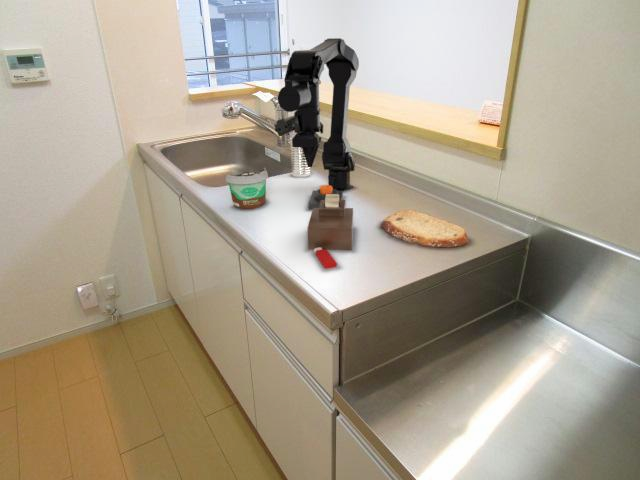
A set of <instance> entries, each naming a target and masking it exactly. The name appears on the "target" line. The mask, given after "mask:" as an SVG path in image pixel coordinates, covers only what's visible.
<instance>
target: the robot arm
mask: <svg viewBox="0 0 640 480" xmlns="http://www.w3.org/2000/svg"><path fill="white" fill-rule="evenodd" d="M325 66H326V68H327V69H328V77H329V79H330V81H331V83H332V86H333V87H332V88H333V89H332V103H331V117H330V118H331V120H330V133H329V138H328V139H327V140H326V141H325V142H324V143H323V150H322V153H321V161H322V165H323V166H322V167H323V170H324V171H328V176H327V178H328V179H327V185H330V186H332V189H336V190H337V191H343V192H345V191H348V190H351V189H354V185H352V184H351V172H354V171H355V167H356V160H355V158H354V156H353V154H352V152H351V149H352V147H351V144H350V143H349V140H348V138H347V129H348V118H349V117H348V115H349V101H350V89H351V86H352V84H353V83H354V81H355V80H356V78H357V73H358V70H359V66H360V61H359V57H358V55H357V53H356V51H355V50H354V49H353V48H351V47H350V46H349V45H348V44H346V41H345V39H343V38H341V37H340V38H339V37H338V38H336V37H334V38H331V37H330V38H326V39H324V40H323V42H321V43H319V44H317V45H315V46H314V47H312V48H309V49H300V50H294V51H293V52H292V53H291V56H290V57H289V60H288V63H287V68H286V72H285V76H284V79H283V81H284V86H282V88H280V90H279V91H278V95H277V103H278V104H279V106H280V108H281V109H282V110H283V111H285V112H288V113H289V112H293V111H295V112H294V116H291V117H288V116H287V117H286V118H284V117H281V119H277V120H276V122H275V123H274V131H275V132H276V133H277V135H278V137H283V136H284V135H286V134H290V132H291V131H294V130H295V133H296V135H295V136H294V137H293V139H292V147H301V148H302V149H303V152H304V155H305V159H306V162H307V166H308V167H311V168H312V167H313V165H314V162H315V159H316V156H317V153H318V150H319V146H320V144H321V141H322V137H321V136H320V135H319V134H318V133H320V134H324V124H323V122H321V121H320V119H321V117H320V113H321V107H320V85H322V81H321V80H320V78H321V76H322V73H323V72H324V70H325Z"/></svg>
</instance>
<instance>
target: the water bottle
mask: <svg viewBox="0 0 640 480" xmlns="http://www.w3.org/2000/svg"><path fill="white" fill-rule="evenodd" d="M294 112H295V111H293V112H288V113H287V118H288V117H291V116H294ZM295 135H296V133H295V130H294V131H291V132H289V139H288V140H289V153H290V171H291V176H292V177H295V178H306V177H309V176H310V175H311V174H312V167H308V166H307V162H306V159H305V155H304V152H303V149H302V148H301V147H292V139H293V137H294V136H295Z"/></svg>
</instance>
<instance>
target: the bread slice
mask: <svg viewBox="0 0 640 480" xmlns="http://www.w3.org/2000/svg"><path fill="white" fill-rule="evenodd" d="M380 227H381V228H383V229H384V230H385V232H386V233H387V234H389V235H390V236H391V237H393V238H396V239H399V240H401V241H404V242H407V243H409V244H410V243H411V244H418V245H421V246H425V247H432V248H434V247H435V248H455V247H460V246H464V245H466V244H468V243H469V237H468V234H467V231H466V230H465V228H464V227H461V226H459V225H457V224H455V223H451V222H449V221H447V220H444V219H442V218H438V217H435V216H431V215H429V214H425V213H421V212H417V211H415V210H411V209H405V210H404V209H403V210H400V211H396V212H394V213H393V214H390V215H388V216H387V217H386V218H385V219H383V221H382V222H381V224H380Z"/></svg>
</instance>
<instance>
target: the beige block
mask: <svg viewBox="0 0 640 480" xmlns="http://www.w3.org/2000/svg"><path fill="white" fill-rule="evenodd" d="M325 207H339V194H326V197H325Z"/></svg>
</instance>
